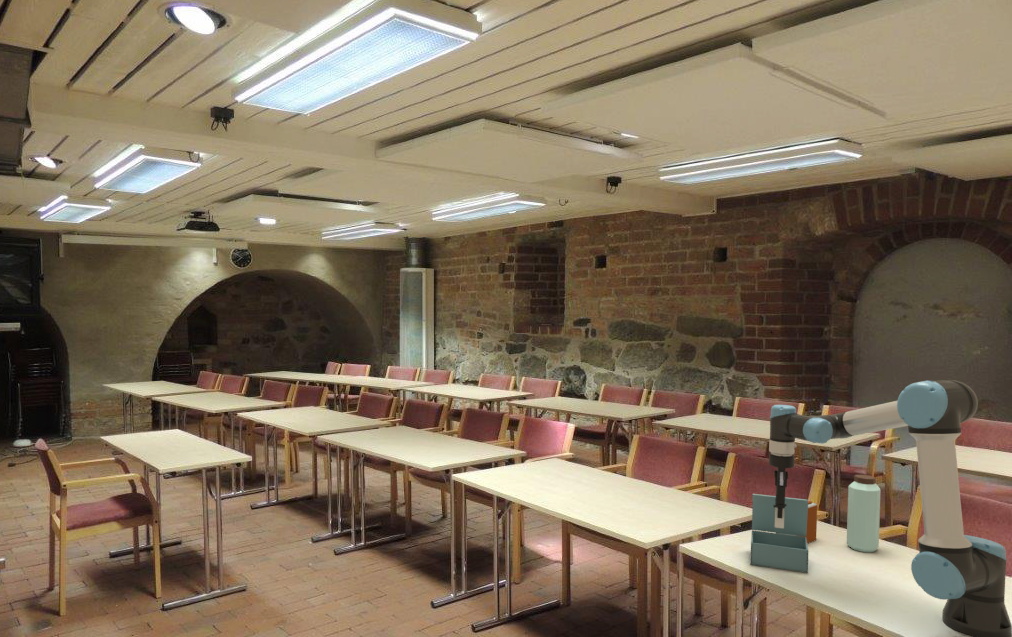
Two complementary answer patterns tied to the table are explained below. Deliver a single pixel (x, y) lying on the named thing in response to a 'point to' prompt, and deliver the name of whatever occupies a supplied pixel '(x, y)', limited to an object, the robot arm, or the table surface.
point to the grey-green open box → (779, 551)
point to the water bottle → (863, 514)
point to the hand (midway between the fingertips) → (779, 527)
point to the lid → (792, 515)
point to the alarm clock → (810, 522)
